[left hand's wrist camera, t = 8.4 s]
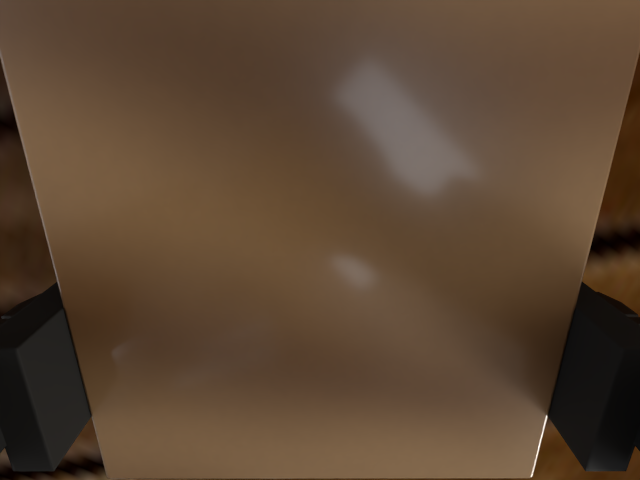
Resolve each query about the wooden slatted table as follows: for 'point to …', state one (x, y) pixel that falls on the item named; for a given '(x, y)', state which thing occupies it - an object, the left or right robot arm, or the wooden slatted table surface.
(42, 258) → the wooden slatted table surface
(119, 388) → the cabinet
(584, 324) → the left robot arm
